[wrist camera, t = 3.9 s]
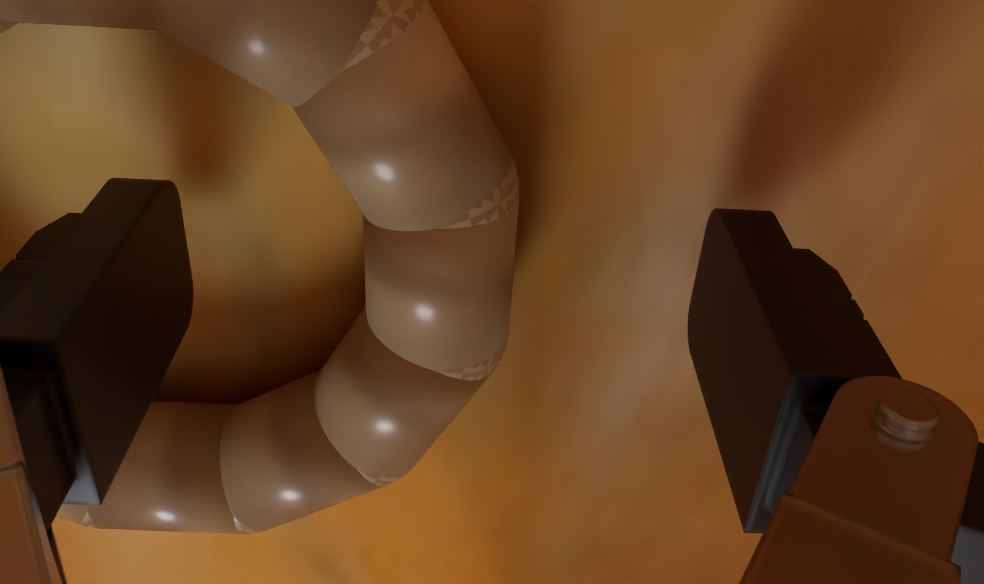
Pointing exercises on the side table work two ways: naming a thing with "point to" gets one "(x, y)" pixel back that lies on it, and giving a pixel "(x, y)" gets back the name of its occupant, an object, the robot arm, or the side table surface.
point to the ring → (387, 254)
